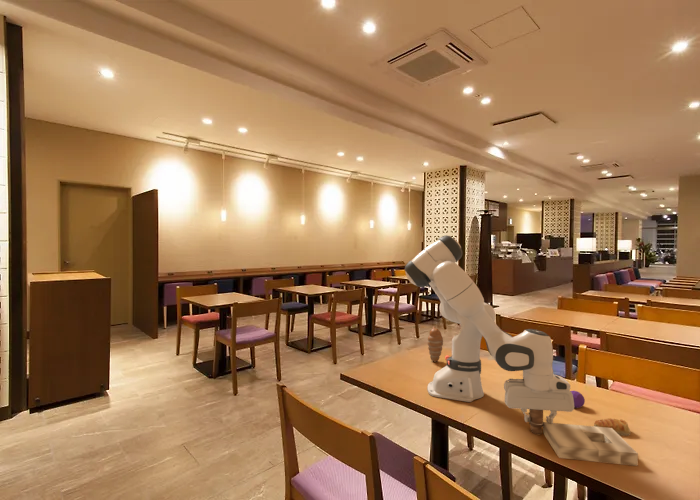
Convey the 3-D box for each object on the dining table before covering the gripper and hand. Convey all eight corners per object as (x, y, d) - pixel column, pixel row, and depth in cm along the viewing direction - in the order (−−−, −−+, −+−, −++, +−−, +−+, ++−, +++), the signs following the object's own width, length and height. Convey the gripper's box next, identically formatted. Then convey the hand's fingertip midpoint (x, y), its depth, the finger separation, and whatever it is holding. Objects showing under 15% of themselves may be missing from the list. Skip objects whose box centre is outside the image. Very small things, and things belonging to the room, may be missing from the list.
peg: (531, 434, 117) (531, 410, 116) (527, 428, 121) (527, 404, 120) (544, 435, 116) (545, 411, 116) (540, 429, 120) (541, 405, 120)
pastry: (599, 434, 117) (599, 422, 117) (590, 424, 124) (590, 413, 124) (632, 437, 115) (632, 425, 115) (621, 427, 122) (621, 415, 122)
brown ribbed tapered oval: (446, 363, 184) (446, 328, 184) (431, 365, 183) (431, 329, 182) (437, 358, 193) (437, 324, 193) (424, 359, 191) (424, 325, 191)
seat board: (558, 457, 104) (559, 445, 104) (542, 432, 118) (542, 421, 118) (637, 465, 100) (637, 453, 100) (611, 438, 114) (611, 428, 114)
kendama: (537, 379, 153) (588, 393, 136) (537, 394, 152) (587, 409, 135) (529, 379, 150) (579, 393, 133) (528, 394, 149) (578, 410, 132)
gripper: (506, 381, 116) (506, 424, 117) (576, 385, 113) (576, 429, 113) (501, 374, 123) (502, 415, 123) (568, 377, 119) (568, 419, 119)
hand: (538, 422), depth 118 cm, fingers open, 5 cm apart
